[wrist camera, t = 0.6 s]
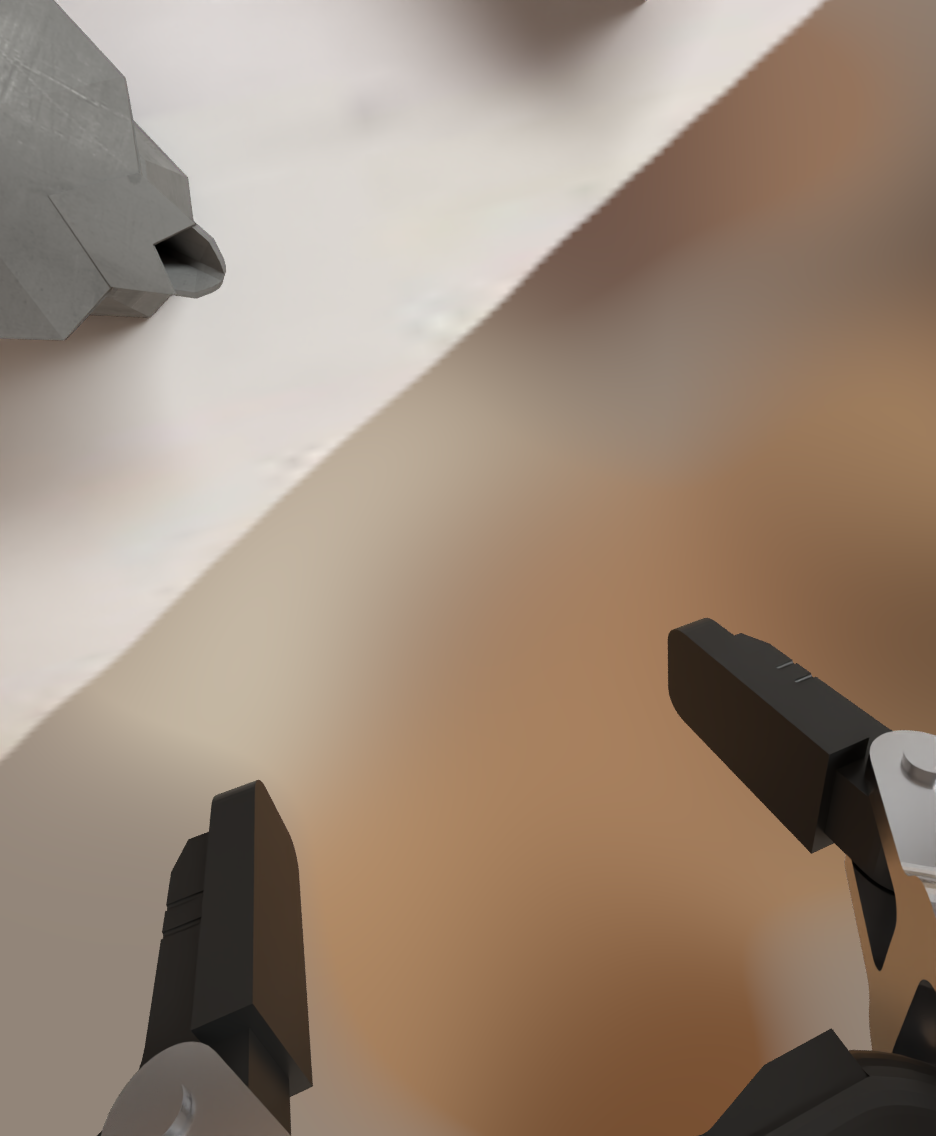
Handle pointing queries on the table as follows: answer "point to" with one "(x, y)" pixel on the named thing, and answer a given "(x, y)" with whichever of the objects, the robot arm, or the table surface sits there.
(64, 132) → the coffeepot
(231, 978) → the robot arm
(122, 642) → the table surface
